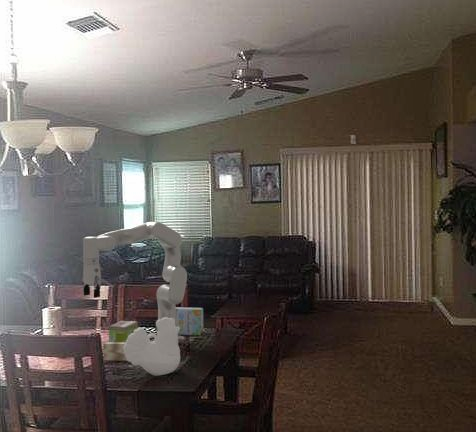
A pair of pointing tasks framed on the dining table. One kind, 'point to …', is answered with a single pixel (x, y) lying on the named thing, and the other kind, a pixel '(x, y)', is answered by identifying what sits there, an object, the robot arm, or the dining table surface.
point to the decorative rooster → (155, 348)
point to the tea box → (121, 330)
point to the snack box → (189, 320)
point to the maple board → (114, 351)
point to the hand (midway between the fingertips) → (91, 296)
